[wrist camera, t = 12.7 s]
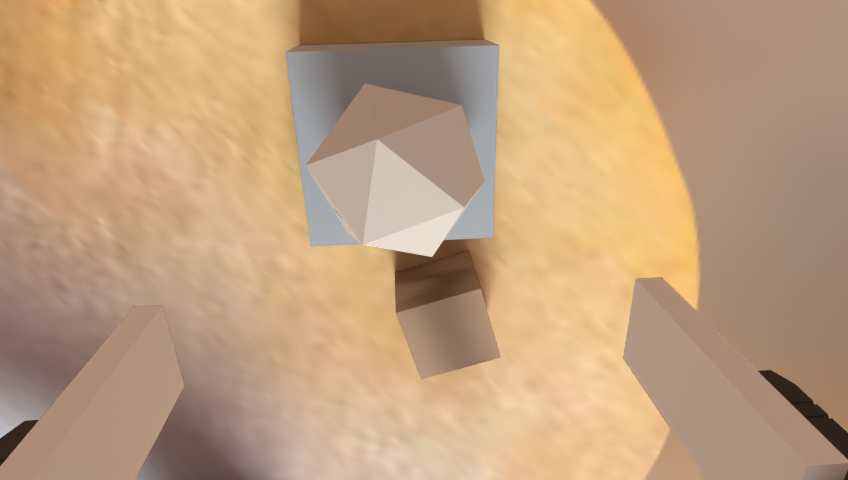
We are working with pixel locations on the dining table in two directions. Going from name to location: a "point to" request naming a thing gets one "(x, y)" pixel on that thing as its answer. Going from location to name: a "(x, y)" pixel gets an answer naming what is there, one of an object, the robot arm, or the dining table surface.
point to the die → (398, 169)
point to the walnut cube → (444, 315)
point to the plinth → (402, 71)
